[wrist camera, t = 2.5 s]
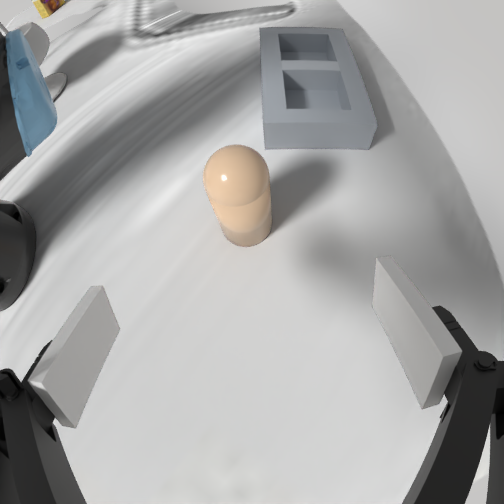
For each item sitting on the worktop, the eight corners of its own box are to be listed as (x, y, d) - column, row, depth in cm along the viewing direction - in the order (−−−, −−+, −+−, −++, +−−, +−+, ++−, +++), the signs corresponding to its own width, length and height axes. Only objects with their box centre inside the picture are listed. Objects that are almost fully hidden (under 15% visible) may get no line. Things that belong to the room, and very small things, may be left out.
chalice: (75, 92, 42) (35, 31, 28) (13, 137, 41) (-33, 87, 27) (69, 61, 47) (39, 9, 32) (16, 99, 45) (-20, 54, 31)
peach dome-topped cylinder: (220, 247, 31) (193, 191, 20) (222, 201, 32) (199, 133, 22) (272, 246, 31) (269, 187, 20) (271, 199, 32) (267, 129, 22)
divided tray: (264, 149, 34) (262, 123, 30) (261, 50, 41) (259, 27, 37) (368, 149, 33) (377, 124, 29) (339, 51, 40) (342, 29, 36)
